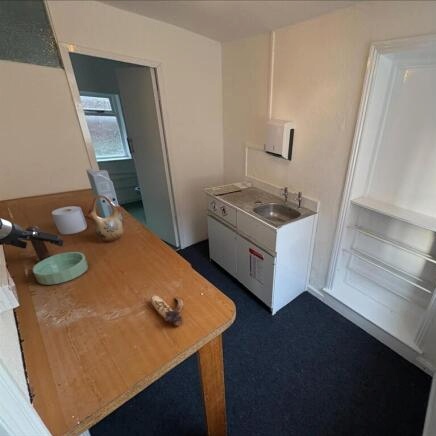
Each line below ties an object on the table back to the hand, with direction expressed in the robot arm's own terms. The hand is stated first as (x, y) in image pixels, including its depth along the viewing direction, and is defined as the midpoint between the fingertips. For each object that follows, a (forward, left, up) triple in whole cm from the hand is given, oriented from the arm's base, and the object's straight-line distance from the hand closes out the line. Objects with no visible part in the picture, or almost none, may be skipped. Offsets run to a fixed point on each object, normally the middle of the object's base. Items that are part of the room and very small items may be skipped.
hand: (43, 244), depth 103 cm
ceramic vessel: (+20, +14, -7) cm, 25 cm away
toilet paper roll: (-4, +29, -7) cm, 30 cm away
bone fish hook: (+58, -43, -7) cm, 73 cm away
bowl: (+12, -13, -7) cm, 19 cm away
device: (+10, +40, -7) cm, 42 cm away
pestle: (0, -2, -7) cm, 8 cm away
